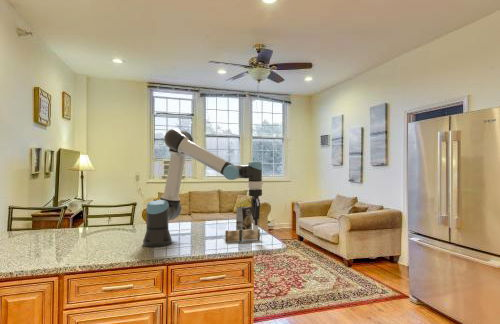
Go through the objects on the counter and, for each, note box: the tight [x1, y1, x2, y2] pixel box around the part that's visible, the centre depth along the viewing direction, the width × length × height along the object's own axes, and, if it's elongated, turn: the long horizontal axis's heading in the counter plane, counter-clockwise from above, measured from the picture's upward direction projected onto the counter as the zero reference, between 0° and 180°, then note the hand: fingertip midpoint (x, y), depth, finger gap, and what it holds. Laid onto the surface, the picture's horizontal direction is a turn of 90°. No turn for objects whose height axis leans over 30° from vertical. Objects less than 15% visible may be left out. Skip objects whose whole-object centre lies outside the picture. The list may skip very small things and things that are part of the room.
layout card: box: [221, 235, 261, 244], centre depth 186 cm, size 20×16×1 cm
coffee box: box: [235, 206, 253, 230], centre depth 206 cm, size 9×6×16 cm
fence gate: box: [242, 228, 261, 240], centre depth 182 cm, size 10×1×6 cm, turn 103°
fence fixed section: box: [224, 229, 242, 243], centre depth 180 cm, size 10×2×6 cm, turn 103°
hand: (255, 230), depth 178 cm, fingers closed
